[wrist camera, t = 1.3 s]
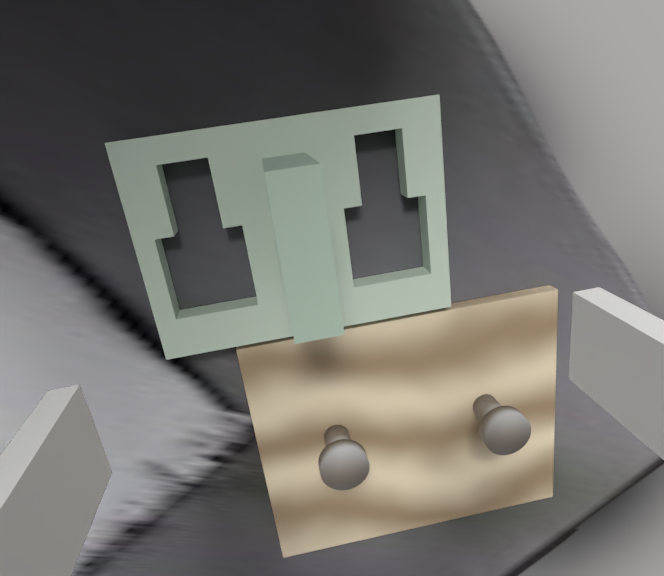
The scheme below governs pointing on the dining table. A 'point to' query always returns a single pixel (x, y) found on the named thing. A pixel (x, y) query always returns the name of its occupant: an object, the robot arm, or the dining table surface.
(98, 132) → the dining table surface
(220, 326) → the panel
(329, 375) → the boss board
